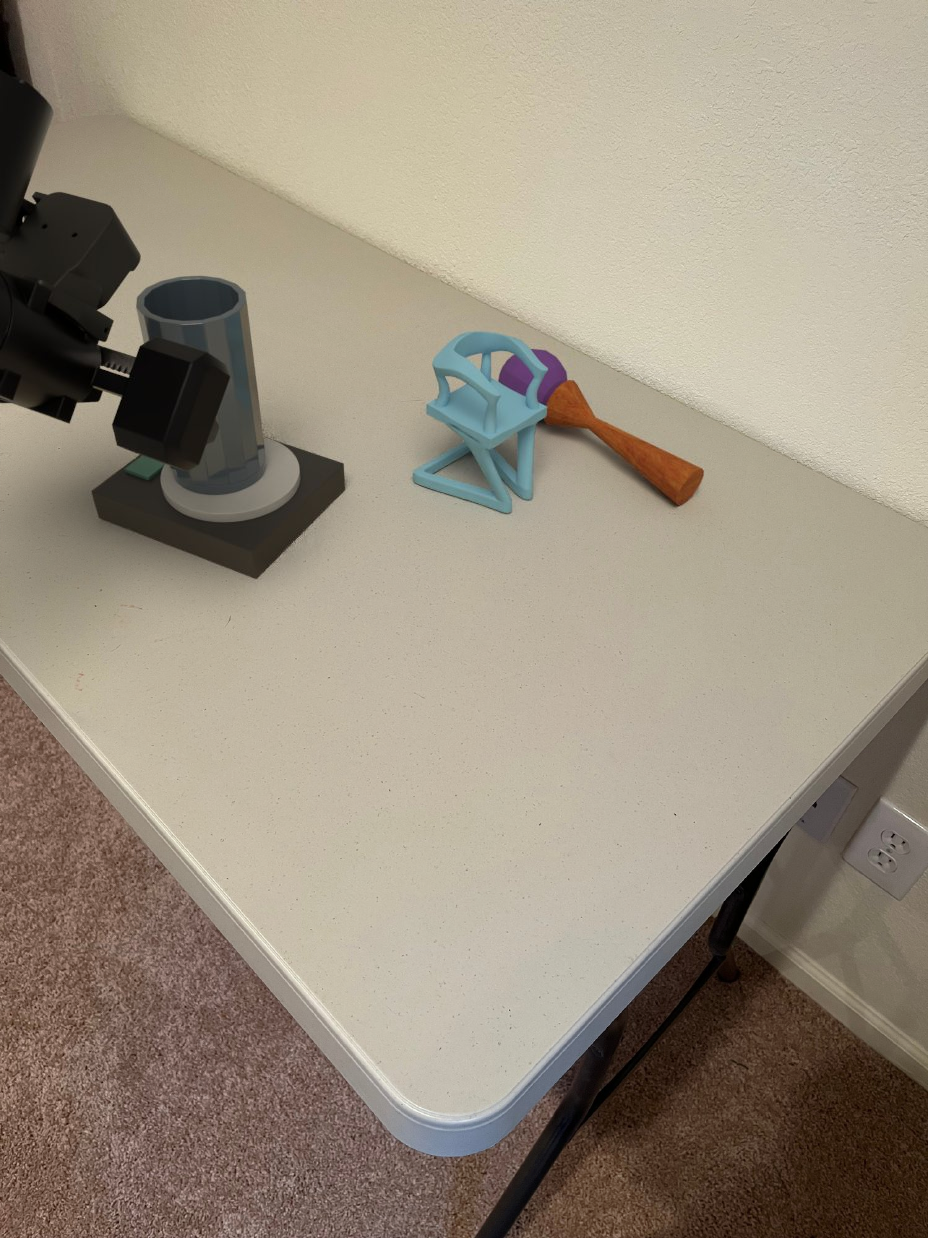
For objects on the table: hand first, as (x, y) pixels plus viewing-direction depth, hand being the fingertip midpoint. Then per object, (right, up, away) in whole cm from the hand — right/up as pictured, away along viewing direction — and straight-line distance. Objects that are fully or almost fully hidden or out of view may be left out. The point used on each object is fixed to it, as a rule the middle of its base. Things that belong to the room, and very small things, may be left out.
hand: (156, 412), depth 59 cm
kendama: (+31, +1, +19) cm, 36 cm away
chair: (+21, -3, +14) cm, 26 cm away
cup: (+2, -2, +8) cm, 9 cm away
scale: (+2, -4, +11) cm, 12 cm away
